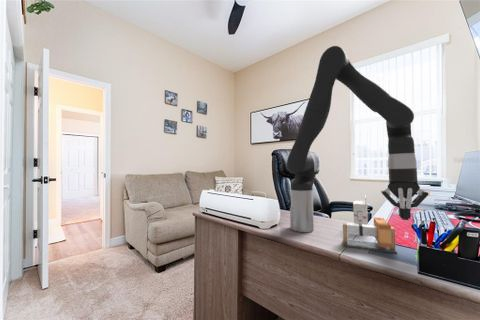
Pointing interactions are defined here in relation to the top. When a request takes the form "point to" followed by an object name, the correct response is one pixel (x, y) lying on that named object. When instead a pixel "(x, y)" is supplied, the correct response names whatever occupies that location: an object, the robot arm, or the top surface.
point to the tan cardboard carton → (383, 232)
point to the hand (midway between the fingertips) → (405, 219)
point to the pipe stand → (365, 231)
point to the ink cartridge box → (360, 212)
